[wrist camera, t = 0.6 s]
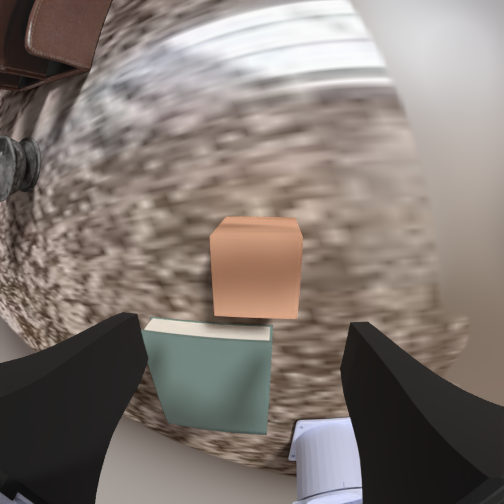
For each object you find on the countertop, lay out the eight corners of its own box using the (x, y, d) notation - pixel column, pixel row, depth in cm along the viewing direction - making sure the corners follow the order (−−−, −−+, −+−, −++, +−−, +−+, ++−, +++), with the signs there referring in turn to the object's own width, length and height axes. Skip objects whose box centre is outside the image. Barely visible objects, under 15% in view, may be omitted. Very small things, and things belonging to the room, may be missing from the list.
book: (267, 416, 24) (266, 434, 22) (174, 406, 25) (167, 423, 23) (272, 323, 20) (272, 342, 18) (151, 315, 21) (139, 331, 19)
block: (291, 280, 19) (297, 318, 14) (228, 279, 19) (214, 315, 15) (295, 217, 18) (303, 237, 13) (226, 216, 18) (209, 235, 13)
